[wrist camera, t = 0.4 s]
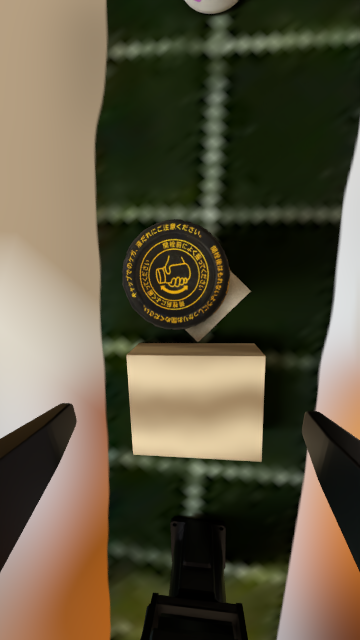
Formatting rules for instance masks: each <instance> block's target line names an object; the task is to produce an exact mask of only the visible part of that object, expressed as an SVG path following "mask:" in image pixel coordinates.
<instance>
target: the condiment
mask: <svg viewBox="0 0 360 640" xmlns="http://www.w3.org/2000/svg"><path fill="white" fill-rule="evenodd" d="M123 287H124V290H125V292H126V295H127V297H128V299H129V301H130V304H131V306H132V307H133V309H134V310H135V311H136V312H137V313H138V314H139V315H140V316H142V317H143V318H144V319H145V320H146V321H148V322H150V323H152V324H154V326H156V327H162V328H165V329H174V330H180V329H185V330H186V331H187V332H188V333H189V334H190V335H191V336H192V337H193V338H194V339H195V340H196V341H197V342H199V341H200V340H201V339H202V338H203V337H204V336H205V335H206V334H207V333H208V332H209V331H210V330H211V329H212V328H213V327H214V326H215V325H216V324H217V323H218V322H219V321H220V320H221V319H222V318H223V317H224V316H225V315H227V313H228V312H230V311H231V310H232V309H233V308H234V307H235V306H236V305H237V304H238V303H239V302H240V301H241V300H242V299H243V298H244V297H245V296H246V295H247V294H248V293H249V292H251V291H250V290H249V289H248V288H247V287H246V286H245V285H244V284H243V283H242V282H241V281H240V280H239V279H238V278H237V277H236V276H235V275H234V274H233V273H232V272H231V271H230V267H229V262H228V260H227V257H226V255H225V251H224V250H223V248H222V247H221V245H220V242H219V241H217V240H216V238H215V237H213V236H212V235H211V233H210V232H208V231H207V230H206V229H204V228H203V227H201V226H199V225H195V224H192V222H187V221H183V220H175V219H174V220H167V221H163V222H160V223H157V224H155V225H153V226H151V227H149V228H147V229H145V230H144V231H143V232H141V234H140V235H139V236H138V237H137V238H136V239H135V240H134V241H133V242H132V244H131V245H130V246H129V249H128V251H127V255H126V257H125V260H124V263H123Z"/></svg>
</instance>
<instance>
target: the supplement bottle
mask: <svg viewBox="0 0 360 640" xmlns="http://www.w3.org/2000/svg"><path fill="white" fill-rule="evenodd" d="M238 1H239V0H185V2H186V3H187V4H188V5H189V6H190V7H191V8H193V9H194V10H196V11H198V12H201V13H205V14H215V13H220V12H223V11H225V10H227V9H229V8H231V7H232V6H233V5H235V4H236V3H237V2H238Z"/></svg>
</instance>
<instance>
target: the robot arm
mask: <svg viewBox="0 0 360 640" xmlns="http://www.w3.org/2000/svg"><path fill="white" fill-rule="evenodd" d="M75 426H76V416H75V412H74V408H73V405H72V404H69V403H62V404H60V405H58V406H56V407H54V408H52V409H51V410H49V411H47V412H46V413H44V414H42V415H41V416H39V417H37V418H35V419H34V420H32V421H30V422H29V423H27V424H25V425H23V426H22V427H20V428H18V429H16V430H15V431H13V432H11V433H9V434H8V435H6V436H5V437H3V438H1V439H0V572H1V570H2V568H3V566H4V564H5V563H6V561H7V559H8V557H9V555H10V553H11V551H12V550H13V548H14V546H15V544H16V542H17V540H18V539H19V537H20V535H21V533H22V531H23V529H24V527H25V526H26V524H27V522H28V520H29V518H30V517H31V515H32V513H33V511H34V509H35V507H36V505H37V504H38V502H39V500H40V498H41V496H42V494H43V493H44V491H45V489H46V487H47V485H48V483H49V482H50V480H51V478H52V476H53V474H54V472H55V470H56V468H57V467H58V464H59V462H60V460H61V458H62V456H63V453H64V451H65V449H66V447H67V444H68V442H69V440H70V438H71V435H72V433H73V431H74V428H75ZM302 433H303V437H304V440H305V443H306V446H307V449H308V452H309V454H310V457H311V460H312V463H313V466H314V469H315V472H316V475H317V477H318V480H319V482H320V485H321V487H322V490H323V492H324V494H325V496H326V498H327V500H328V503H329V505H330V507H331V509H332V512H333V514H334V516H335V518H336V520H337V522H338V525H339V527H340V529H341V531H342V534H343V536H344V538H345V540H346V542H347V545H348V547H349V549H350V551H351V554H352V556H353V558H354V560H355V562H356V564H357V567H358V569H359V571H360V440H359V439H357V438H355V437H354V436H353V435H351V434H350V433H349V432H347V431H346V430H344V429H343V428H341V427H340V426H338V425H337V424H336V423H334V422H333V421H331V420H330V419H328V418H327V417H326V416H324V415H323V414H321V413H320V412H317V411H307V412H306V413H305V416H304V421H303V426H302ZM225 543H226V528H225V524H224V523H223V522H219V521H207V520H195V519H183V518H172V519H171V549H172V571H171V580H170V590H169V596H164V595H158V593H153V595H152V599H151V604H149V606H147V610H146V616H145V622H144V627H143V632H142V636H141V639H140V640H248V637H247V631H246V625H245V619H244V612H243V606H242V603H236V604H230V603H226V594H225V581H224V569H225Z"/></svg>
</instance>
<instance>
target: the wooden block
mask: <svg viewBox="0 0 360 640" xmlns="http://www.w3.org/2000/svg"><path fill="white" fill-rule="evenodd" d="M265 357H266V356H265V355H264V354H263V353H262V352H261V351H260V349H259V348H258V347H257V346H256V345H255V344H254V343H139V344H138V345H137V346H136V347H135V348H134V349H133V350H132V351H130V352H129V353H128V354H127V370H128V384H129V399H130V414H131V428H132V443H133V454H134V455H152V456H170V457H188V458H206V459H224V460H242V461H260V462H261V458H262V432H263V407H264V382H265Z"/></svg>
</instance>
